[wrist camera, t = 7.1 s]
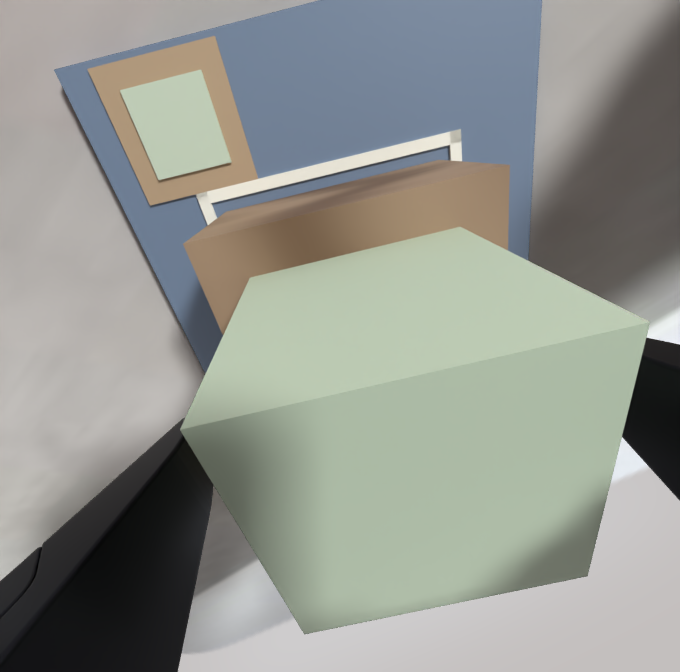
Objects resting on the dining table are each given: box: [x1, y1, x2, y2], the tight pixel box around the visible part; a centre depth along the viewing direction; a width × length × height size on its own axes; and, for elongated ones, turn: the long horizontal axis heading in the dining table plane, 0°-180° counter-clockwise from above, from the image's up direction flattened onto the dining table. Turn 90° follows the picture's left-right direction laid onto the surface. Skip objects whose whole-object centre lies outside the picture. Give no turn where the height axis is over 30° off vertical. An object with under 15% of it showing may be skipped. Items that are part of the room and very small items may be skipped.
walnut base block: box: [183, 160, 510, 335], centre depth 12 cm, size 8×8×5 cm
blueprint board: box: [54, 0, 542, 374], centre depth 15 cm, size 15×18×1 cm
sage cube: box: [180, 227, 650, 634], centre depth 8 cm, size 6×6×6 cm
